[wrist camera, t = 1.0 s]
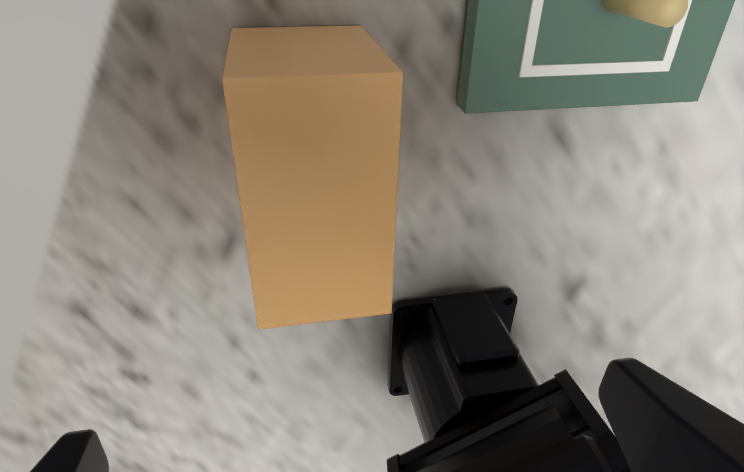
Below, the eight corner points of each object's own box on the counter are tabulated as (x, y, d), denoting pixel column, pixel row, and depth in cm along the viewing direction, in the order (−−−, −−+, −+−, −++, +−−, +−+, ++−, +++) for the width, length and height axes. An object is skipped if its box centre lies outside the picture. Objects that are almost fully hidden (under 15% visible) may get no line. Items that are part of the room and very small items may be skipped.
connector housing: (360, 221, 22) (391, 313, 17) (257, 230, 21) (258, 329, 16) (361, 25, 18) (403, 72, 13) (231, 28, 17) (221, 78, 12)
